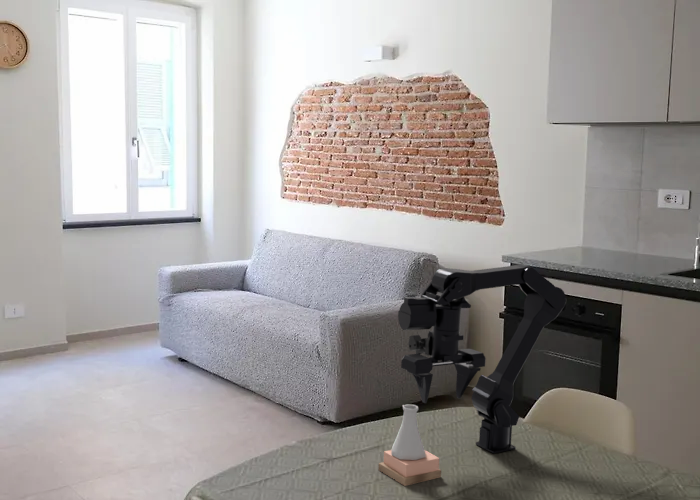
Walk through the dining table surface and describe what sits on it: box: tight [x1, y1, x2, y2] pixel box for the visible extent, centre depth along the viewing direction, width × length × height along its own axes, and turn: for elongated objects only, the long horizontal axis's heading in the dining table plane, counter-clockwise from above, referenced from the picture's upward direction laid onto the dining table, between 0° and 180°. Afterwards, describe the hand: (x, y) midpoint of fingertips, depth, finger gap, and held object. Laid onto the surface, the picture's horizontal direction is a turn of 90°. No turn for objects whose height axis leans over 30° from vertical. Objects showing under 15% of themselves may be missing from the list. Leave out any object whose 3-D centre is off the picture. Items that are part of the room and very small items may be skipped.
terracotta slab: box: [383, 449, 440, 477], centre depth 163 cm, size 8×8×2 cm
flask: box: [390, 404, 426, 460], centre depth 162 cm, size 7×7×10 cm
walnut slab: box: [378, 461, 442, 487], centre depth 163 cm, size 9×9×2 cm
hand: (441, 400), depth 173 cm, fingers open, 9 cm apart
